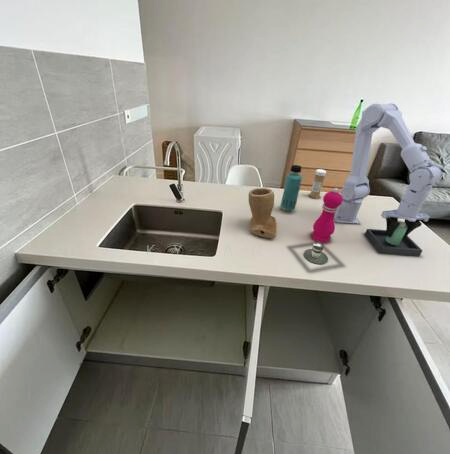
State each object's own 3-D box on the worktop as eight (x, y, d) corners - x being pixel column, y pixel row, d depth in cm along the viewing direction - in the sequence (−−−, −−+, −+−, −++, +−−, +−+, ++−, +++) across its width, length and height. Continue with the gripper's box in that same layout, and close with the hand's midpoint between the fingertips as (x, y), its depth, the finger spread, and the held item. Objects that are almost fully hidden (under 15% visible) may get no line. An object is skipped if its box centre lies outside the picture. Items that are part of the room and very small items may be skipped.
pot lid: (341, 265, 77) (346, 253, 74) (309, 271, 74) (313, 259, 71) (319, 243, 87) (323, 231, 84) (289, 247, 83) (292, 235, 81)
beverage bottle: (278, 211, 105) (286, 166, 95) (281, 205, 110) (289, 162, 100) (293, 215, 103) (304, 169, 93) (295, 208, 108) (305, 164, 98)
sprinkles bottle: (321, 197, 120) (328, 171, 112) (315, 199, 117) (322, 172, 110) (313, 193, 123) (320, 168, 116) (307, 195, 120) (314, 169, 113)
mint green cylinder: (389, 244, 85) (398, 225, 81) (382, 237, 89) (391, 219, 85) (401, 245, 85) (412, 226, 81) (395, 238, 89) (404, 219, 85)
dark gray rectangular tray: (379, 253, 83) (382, 247, 82) (364, 234, 93) (366, 228, 92) (419, 256, 83) (422, 250, 82) (400, 236, 93) (403, 231, 92)
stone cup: (247, 215, 100) (250, 182, 93) (276, 219, 99) (282, 185, 91) (242, 236, 88) (246, 199, 80) (275, 241, 86) (282, 204, 78)
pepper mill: (306, 234, 91) (320, 185, 80) (321, 230, 94) (336, 182, 83) (319, 245, 85) (336, 194, 75) (335, 241, 88) (353, 191, 77)
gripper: (396, 206, 76) (379, 241, 83) (443, 209, 75) (422, 244, 83) (384, 196, 82) (370, 229, 89) (428, 199, 81) (410, 232, 89)
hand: (394, 236), depth 86 cm, fingers closed on mint green cylinder, 4 cm apart
